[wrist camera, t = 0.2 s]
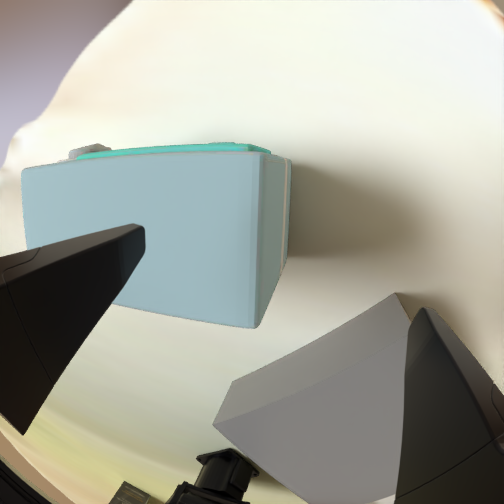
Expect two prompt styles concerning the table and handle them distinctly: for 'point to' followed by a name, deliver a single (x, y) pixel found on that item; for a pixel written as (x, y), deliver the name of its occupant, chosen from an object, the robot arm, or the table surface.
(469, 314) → the table surface
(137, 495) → the cake mix box
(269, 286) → the radio
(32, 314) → the robot arm
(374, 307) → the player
